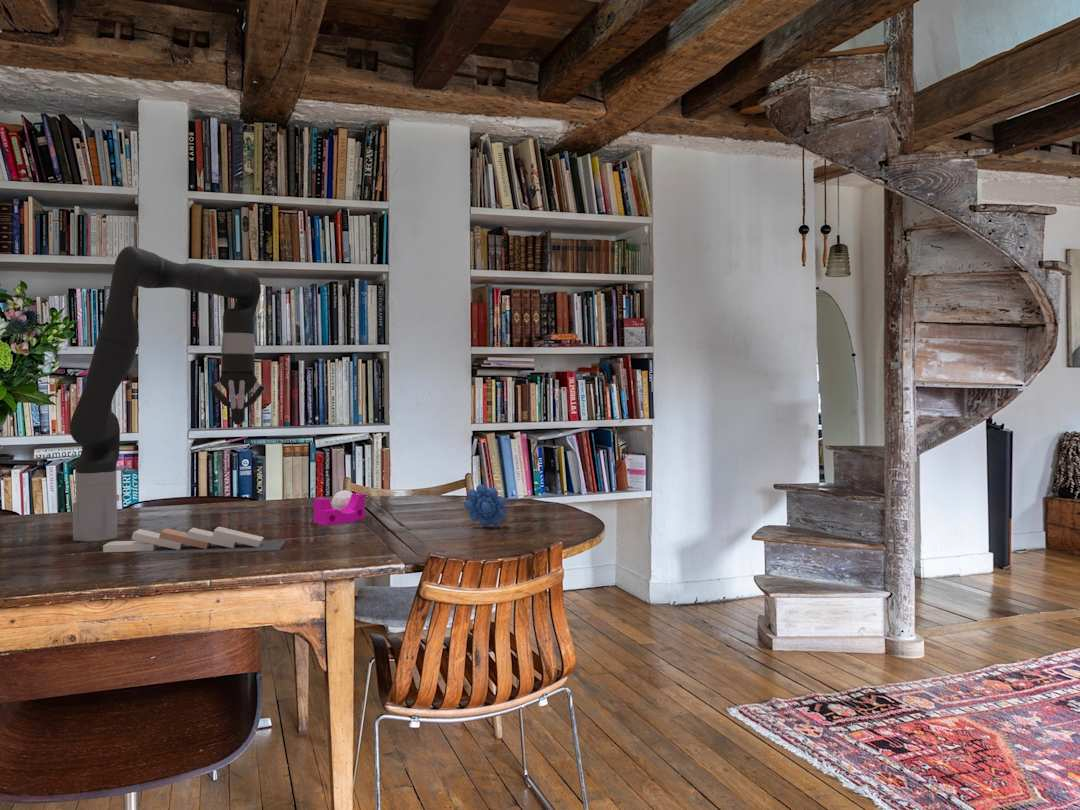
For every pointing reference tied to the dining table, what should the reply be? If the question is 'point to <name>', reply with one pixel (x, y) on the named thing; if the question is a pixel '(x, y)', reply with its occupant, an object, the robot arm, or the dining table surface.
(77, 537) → the robot arm
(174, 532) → the domino
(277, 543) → the domino mat
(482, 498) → the blue flower rosette
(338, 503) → the geometric ball
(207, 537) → the domino
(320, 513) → the toy block
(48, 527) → the dining table surface
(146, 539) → the domino
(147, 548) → the domino
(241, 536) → the domino
